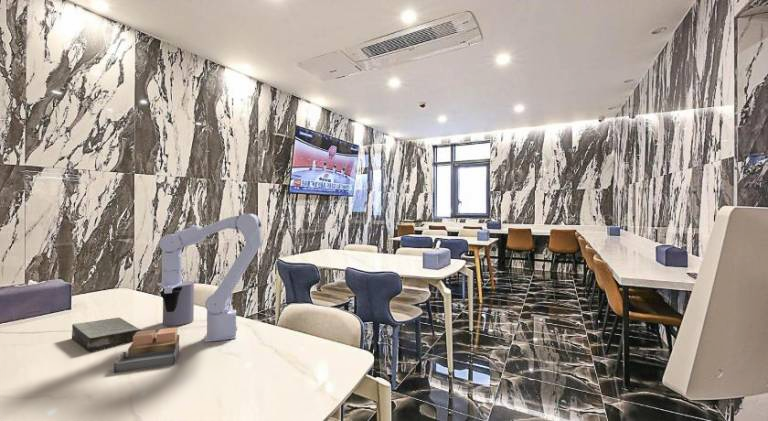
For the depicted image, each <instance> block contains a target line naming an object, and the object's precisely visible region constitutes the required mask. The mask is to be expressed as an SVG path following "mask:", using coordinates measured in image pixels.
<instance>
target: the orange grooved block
mask: <svg viewBox="0 0 768 421" xmlns="http://www.w3.org/2000/svg"><path fill="white" fill-rule="evenodd" d="M177 345H180V334H177V337H176V339H175V340H174V341H166V342H157V343H156V338H155V340H154V341H153V343H149V344H140V345H133V342H131V345H130V346H129V347H128V349H127V355H135V354H143V353H151V352H159V351H167V350H175V349H176V347H177Z"/></svg>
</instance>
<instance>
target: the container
mask: <svg viewBox="0 0 768 421" xmlns="http://www.w3.org/2000/svg"><path fill="white" fill-rule="evenodd" d="M180 286H182V287H183V288H182V290H181V292H180V294H179V297H178V302H177V307H176V309H175V310H174V312H167V311H166V307H165V303H164V300H163V299H162V325H164V326H166V327H179V326H183V325H187V324H190V323H191V322H193V321H194V319H195V318H194V315H195V314H194V310H195V308H194V307H195V305H194V304H195V303H194V302H195V301H194V300H195V282H194V281H192V280H182V285H180ZM163 289H164V288H163V287H162V290H163Z"/></svg>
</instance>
